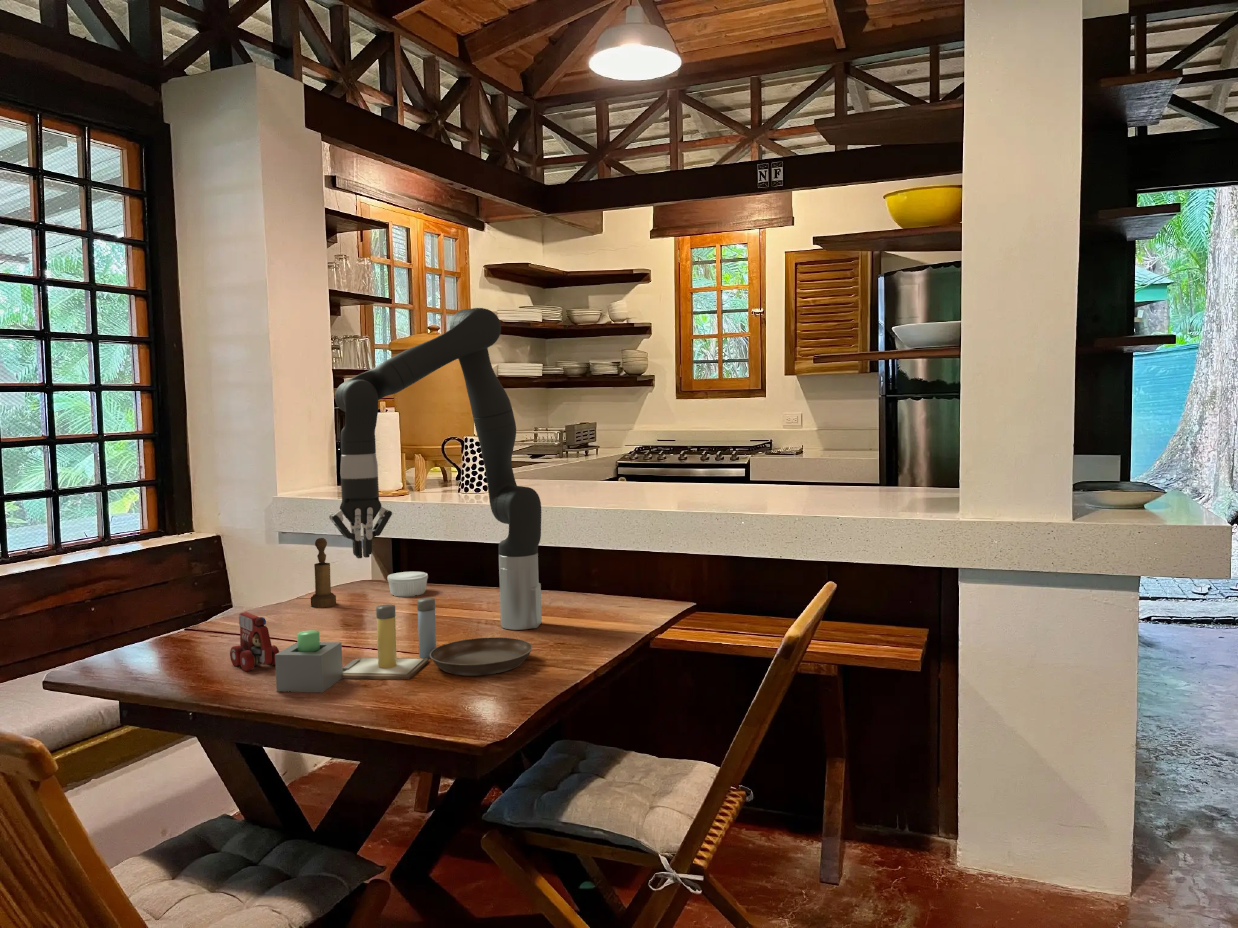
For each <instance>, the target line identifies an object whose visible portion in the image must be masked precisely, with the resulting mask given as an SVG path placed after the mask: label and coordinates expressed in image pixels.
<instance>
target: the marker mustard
mask: <svg viewBox="0 0 1238 928" xmlns="http://www.w3.org/2000/svg"><path fill="white" fill-rule="evenodd" d="M375 615H376V616H375V617H376V632H377V633H376V638H377V641H376V642H377V643H376V644H377V658H378V667H379V668H392V667H395V666H396V665H397V658H398V657H397V634H396V633H397V629H396V627H397V626H396V615H397V614H396V605H395V604H380V605H377V606H376V608H375Z"/></svg>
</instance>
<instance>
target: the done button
mask: <svg viewBox="0 0 1238 928" xmlns="http://www.w3.org/2000/svg"><path fill="white" fill-rule="evenodd" d="M320 637H321V636H320V631H319V630H315V629H313V630H312V629H311V630H310V629H309V630H303V631H300V632H297V634H296V640H297V642H298V652H317V651H318V650H320V642H321V641H320Z"/></svg>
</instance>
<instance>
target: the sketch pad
mask: <svg viewBox="0 0 1238 928" xmlns="http://www.w3.org/2000/svg"><path fill="white" fill-rule="evenodd" d="M429 661H430V658H420V657H418V658H416V657H415V658H414V657H413V658H410V657H409V658H408V657H407V658H404V657H397V665H396V666H395V667H392V668H379V667H378V657H358V658H357V659H353V660H351V661H350V662H349V663H347V664H346V665H345V666H342V667H343V675H342V679H350V680H351V679H355V680H357V679H358V680H361V679H363V680H365V679H366V680H371V679H372V680H410V679H411V678H412V677H413V676H414V675H416V674H417V673H418V672H419V671H420V670H421V669H422V668H423V667H424V666H425V665H427V664H428V663H429Z"/></svg>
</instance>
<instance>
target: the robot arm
mask: <svg viewBox="0 0 1238 928" xmlns="http://www.w3.org/2000/svg"><path fill="white" fill-rule="evenodd" d="M501 333H502V323H501V321H500V319H499V317H498V316H497V314H496V313H495V312H493V310H490V309H489V308H483V307H475V308H474V307H473V308H467V309H462V310H459V311H457V312H456V313H454V315H453V316H452V318H451V320H450V324H449V329H448V330H447V331H445V332H444V333H442V334H440V335H438V336H437V337H434V338H431V339H429V340H427V341H424V342H422V343H420V344H417V345H415V346H412V347H410V348H408V349H406V350H403V351H401V352H399V353H397V354H396V355H394V356H392V357H389V358H388V359H386V360H385V361H382V362H381V363H380V364H379V365H376V366H375V367H373V368H371V369H370V370H367V371H365V372H361V373H359V374H357V375H356V376H353V377H351V378H349V379H347V380H345V381H344V382H342V383H341V384H339V386H338V387H337V388H336V390H335V393H334V401H335V404H336V406H337V408H339V410H341V411H342V412H344V415H345V416H344V417H345V418H344V419H345V420H344V427H343V428H342V429H341V431H340V454H341V455H340V467H339V468H340V472H339V474H340V486H341V489H340V490H341V504H339V505H340V506H339V510H338V511H336V512H335V513H334V514H333V513H331V514H330V515H329V520H330V522H332V523H333V525H334V526H335V528H336V529H337V530H338V531H339V532H340V534H341V535H342V536H343V537H344V538H346V539H347V540H348V539H349V540H351V541H352V553H353V556H355V558H357V559H363V558H366V559H367V558H370V556H371V555H372V553H373V545H372V543H373V542H372V541H373V538H375V537H379V536H380V535H381V534H382V532H383V531H384V528H385V527H386V525H387V524H388V522H389V520H390V519H391V518H392V515H393V512H392V511H391V510H389V509H387V508H384V507H383V506H382V502H381V501H380V494H379V493H380V492H379V491H380V489H379V488H380V487H379V468H378V467H379V464H378V459H377V458H378V457H377V454H376V453H377V447H376V446H377V445H376V427H377V422H378V415H379V400H382V399H383V398H385V397H388V396H391V395H396V394H398V393H399V392H401V391H403V390H404V389H405V390H406V388H408V387H410V386H412V385H414V384H416V383H417V382H419V381H420V380H422V379H424V378H425V377H427V376H429V375H430V374H432V373H434V372H435V371H437V370H439V369H440V368H442V367H444V366H446V365H449V364H450V363H453V362H454V361H456V360H458V361H459V365H460V368H461V371H462V375H463V379H464V383H465V387H466V388H465V389H466V393H467V396H468V399H469V400H468V401H469V405H470V409H471V415H472V418H473V423H474V427H475V432H476V435H477V438H478V443H479V446H480V447H479V448H480V451H481V457H482V460H483V465H484V470H485V475H486V483H487V490H488V491H487V492H488V499H489V505H490V510H491V512H492V515H493V516H494V518H495V519H496V520H497V521H498V522H500V523H502V524H506V525H508V533H507V534H508V535H507V537H506V539H503V540H500V542H499V543H498V570H499V571H498V577H499V606H500V609H499V610H500V611H499V613H500V627H501V628H503V629H506V630H513V631H514V630H515V631H516V630H517V631H519V630H528V629H538V627H539V626H540V625H541V623H543V619H542V589H541V588H542V585H541V584H542V583H540V582H539V557H538V556H539V545H540V542H541V539H542V538H541V537H542V502H541V499H540V495H539V493H537V491H536V490H535V489H534V488H531V487H529V486H521V485H518V484H517V481H516V479H515V474H514V470H513V463H512V461H513V460H512V459H513V452H514V448H515V443H516V437H517V425H516V424H517V423H516V419H515V416H514V415H515V414H514V411H513V406H512V403H511V400H510V398H509V395H508V394H507V391H506V390H505V388H504V386H503V385H502V383H501V382H500V380H499V378H498V376H497V374H496V373H495V371H494V368H493V366H492V361H491V360H490V354H489V348H490V347H492V346H493V345H494V344H496V342H497V341H498V340H499V338H500V336H501ZM377 516H378V519H377V520H376V523H375V524H374V523H373V522H374V519H375V518H376V517H377ZM344 517H345V518H346V519H347V521H348V522H349V524H350V530H349V529H348V527H347V525H345V523H344ZM373 524H374V525H373ZM350 531H351V532H350ZM361 531H362V533H361ZM361 535H362V536H361ZM362 537H363V538H362ZM361 539H362V540H361Z"/></svg>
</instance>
